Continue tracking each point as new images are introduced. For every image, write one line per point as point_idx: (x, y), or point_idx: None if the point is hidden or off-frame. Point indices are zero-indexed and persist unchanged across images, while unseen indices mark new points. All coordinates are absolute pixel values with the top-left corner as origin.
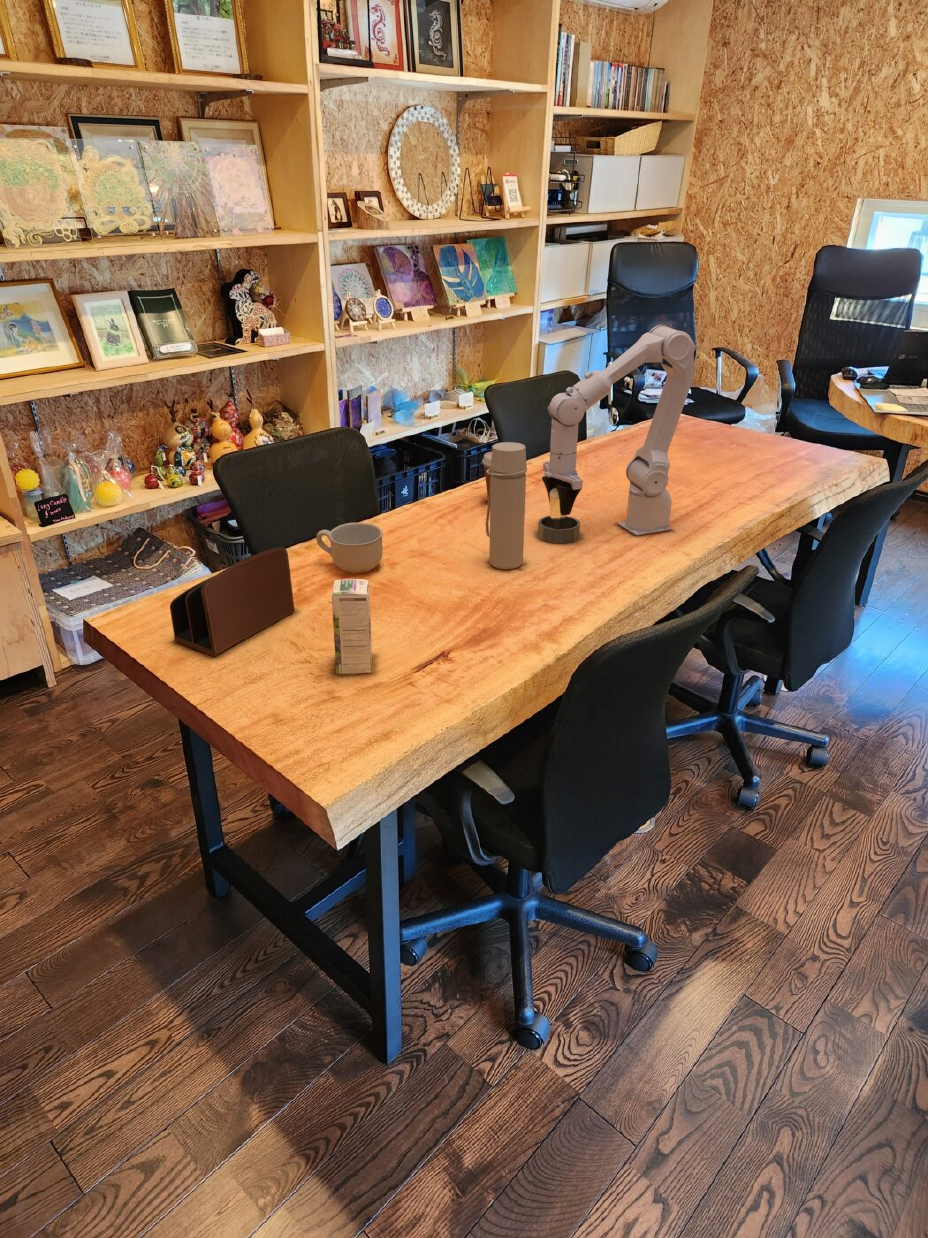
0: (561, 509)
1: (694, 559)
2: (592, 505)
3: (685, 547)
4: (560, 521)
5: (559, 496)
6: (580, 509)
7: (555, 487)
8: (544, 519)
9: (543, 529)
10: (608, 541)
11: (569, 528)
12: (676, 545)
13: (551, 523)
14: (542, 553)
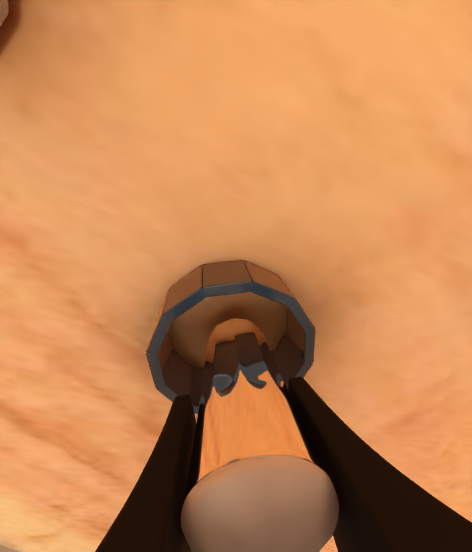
0: (165, 425)
1: (6, 543)
2: (388, 449)
3: (83, 540)
4: (204, 366)
5: (152, 524)
6: (382, 423)
7: (349, 528)
8: (295, 318)
9: (202, 283)
10: (149, 430)
11: (160, 375)
12: (98, 531)
13: (232, 330)
14: (70, 218)
